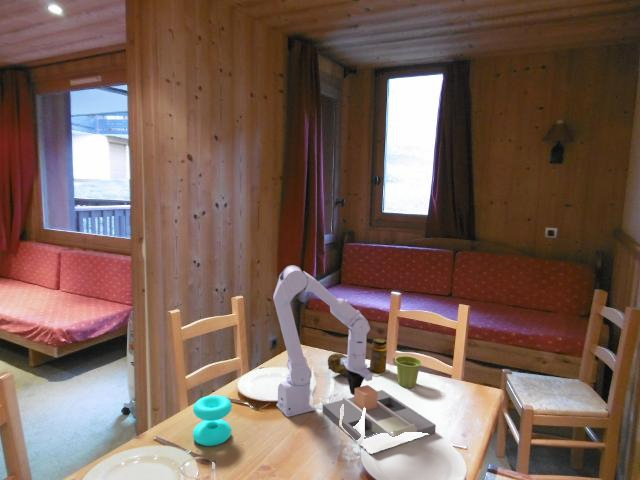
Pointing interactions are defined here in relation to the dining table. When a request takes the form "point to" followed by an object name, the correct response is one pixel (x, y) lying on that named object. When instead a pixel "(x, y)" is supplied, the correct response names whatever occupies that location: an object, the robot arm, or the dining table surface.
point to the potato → (337, 363)
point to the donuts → (212, 420)
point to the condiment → (378, 357)
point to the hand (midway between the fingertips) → (354, 393)
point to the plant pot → (407, 370)
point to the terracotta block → (365, 397)
